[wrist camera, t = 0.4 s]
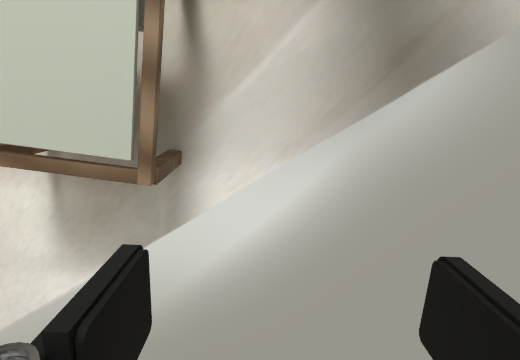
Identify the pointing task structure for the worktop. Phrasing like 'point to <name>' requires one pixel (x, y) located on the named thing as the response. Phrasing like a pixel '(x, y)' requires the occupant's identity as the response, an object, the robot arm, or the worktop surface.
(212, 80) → the worktop surface
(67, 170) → the frame
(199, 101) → the worktop surface
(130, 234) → the worktop surface
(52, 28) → the trapdoor
